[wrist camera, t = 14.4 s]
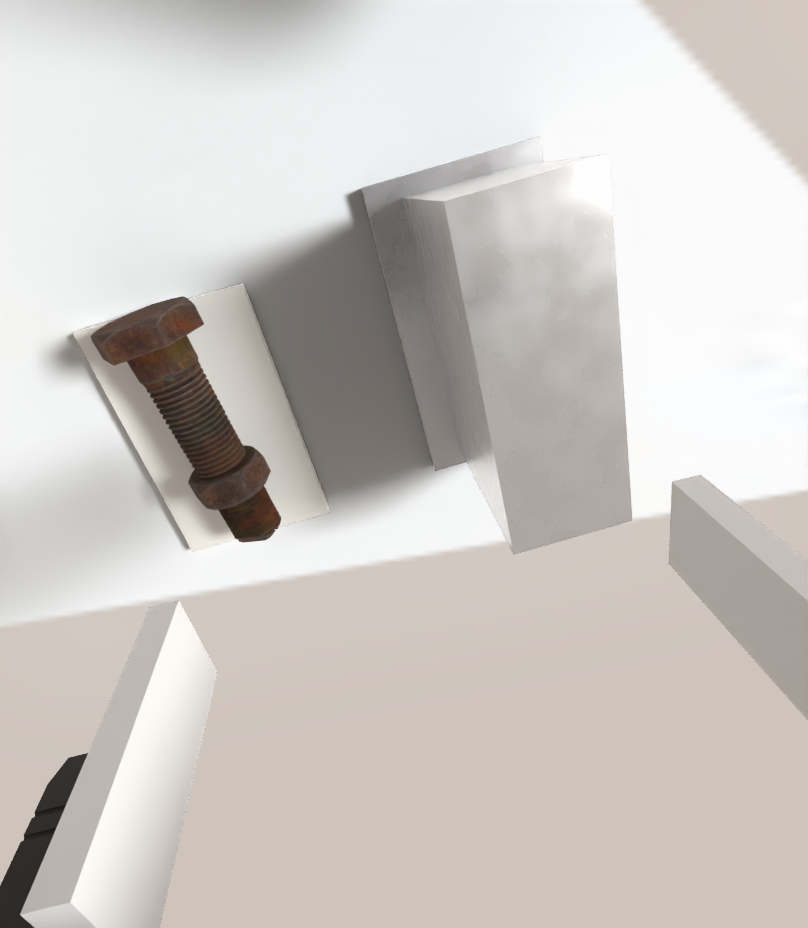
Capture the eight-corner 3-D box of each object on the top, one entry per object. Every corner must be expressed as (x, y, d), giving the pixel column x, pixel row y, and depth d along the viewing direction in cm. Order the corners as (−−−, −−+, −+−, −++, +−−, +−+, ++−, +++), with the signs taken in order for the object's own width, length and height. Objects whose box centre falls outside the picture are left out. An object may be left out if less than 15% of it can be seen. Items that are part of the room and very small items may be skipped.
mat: (78, 330, 32) (72, 333, 31) (243, 282, 32) (241, 284, 31) (195, 545, 39) (192, 552, 38) (329, 507, 39) (328, 512, 38)
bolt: (255, 504, 39) (145, 303, 32) (312, 503, 37) (207, 287, 29) (205, 561, 35) (64, 344, 27) (266, 564, 33) (130, 328, 25)
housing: (361, 188, 30) (381, 186, 19) (534, 138, 30) (662, 105, 19) (433, 464, 38) (478, 581, 27) (568, 425, 38) (672, 525, 27)
